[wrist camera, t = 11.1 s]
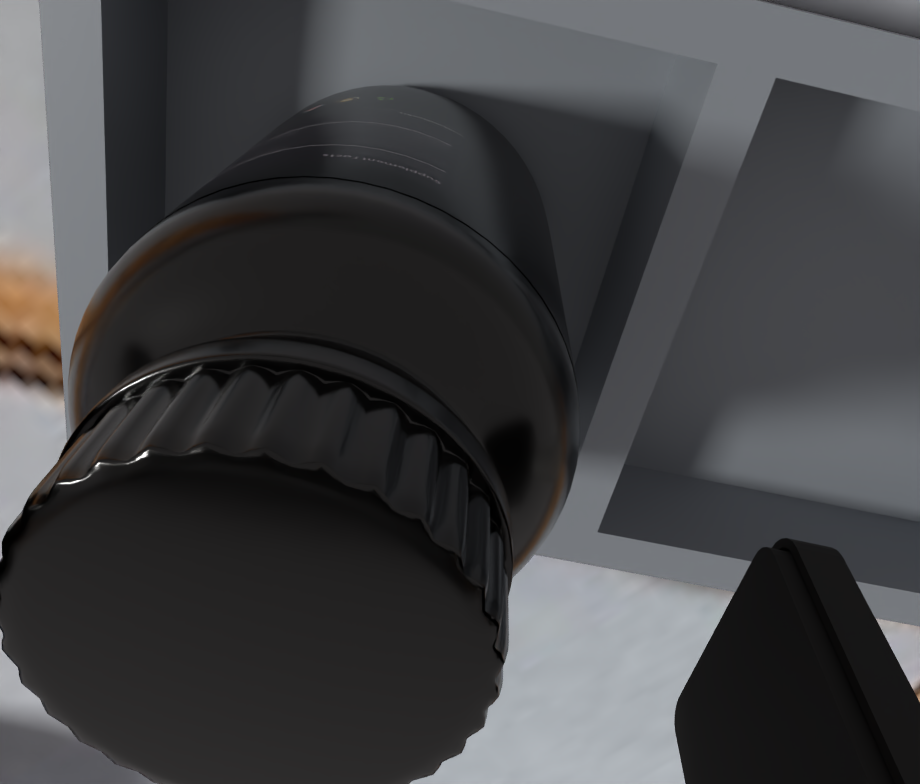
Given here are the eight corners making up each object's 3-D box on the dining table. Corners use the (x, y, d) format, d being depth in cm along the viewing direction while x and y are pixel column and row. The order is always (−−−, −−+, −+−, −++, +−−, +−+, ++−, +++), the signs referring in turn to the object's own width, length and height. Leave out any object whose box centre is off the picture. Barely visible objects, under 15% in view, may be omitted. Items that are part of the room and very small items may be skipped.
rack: (1229, 114, 16) (1423, 162, 13) (938, 535, 23) (1017, 644, 19) (136, -152, 15) (27, -177, 11) (139, 379, 21) (68, 467, 18)
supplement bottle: (564, 353, 19) (635, 864, 8) (292, 384, 20) (57, 885, 9) (532, 48, 15) (585, 280, 5) (205, 102, 16) (-317, 395, 6)
